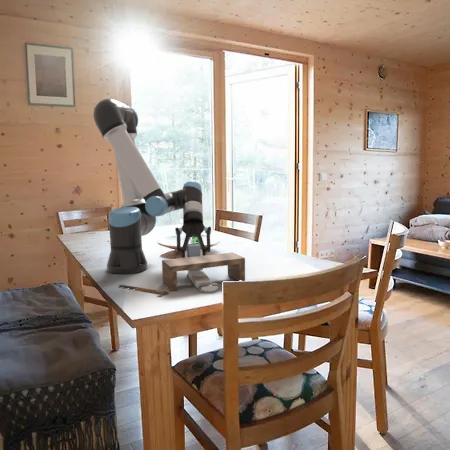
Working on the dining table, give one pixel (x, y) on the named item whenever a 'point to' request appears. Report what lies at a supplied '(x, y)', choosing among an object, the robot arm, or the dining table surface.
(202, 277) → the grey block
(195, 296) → the dining table surface
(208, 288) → the disc
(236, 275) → the bench
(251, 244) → the dining table surface
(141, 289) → the tomahawk
